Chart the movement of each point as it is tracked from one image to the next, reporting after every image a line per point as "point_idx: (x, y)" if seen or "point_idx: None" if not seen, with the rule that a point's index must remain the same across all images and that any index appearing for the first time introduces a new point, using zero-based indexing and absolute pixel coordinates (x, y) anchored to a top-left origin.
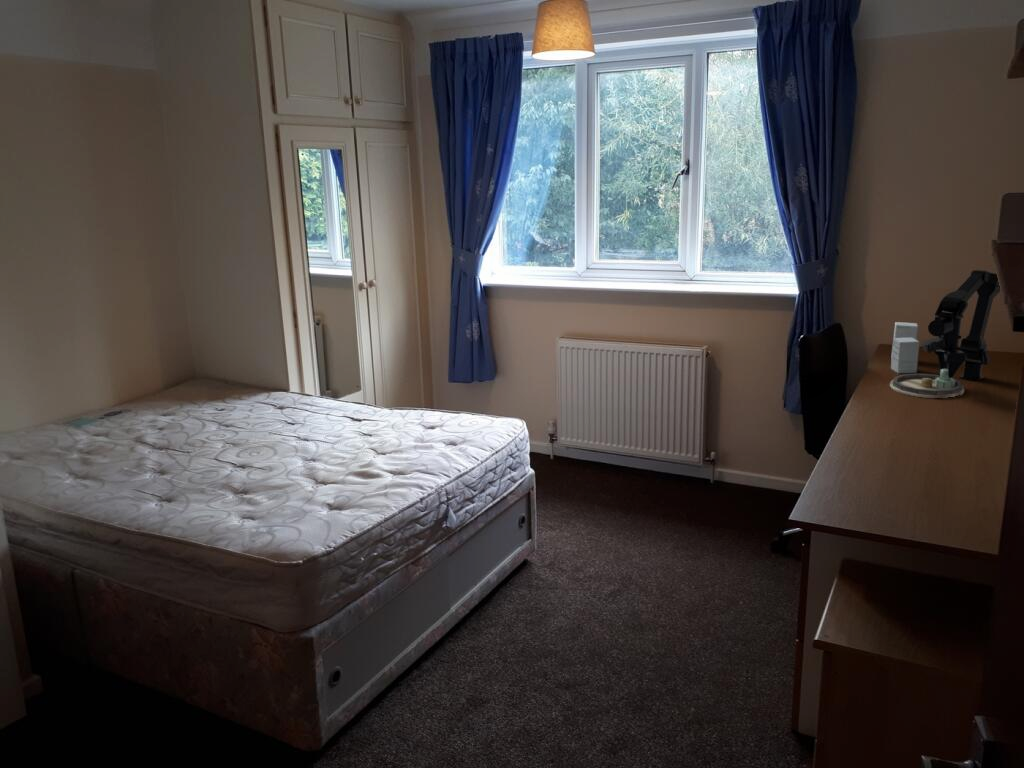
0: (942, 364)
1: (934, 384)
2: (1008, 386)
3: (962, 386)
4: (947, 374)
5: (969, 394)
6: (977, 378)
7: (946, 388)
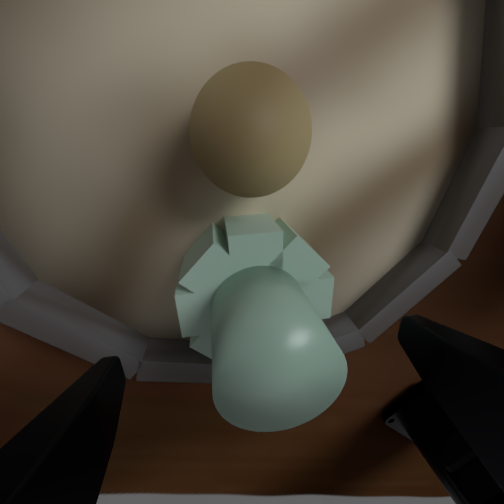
0: (465, 386)
1: (290, 216)
2: (299, 492)
3: None
4: (212, 361)
5: (136, 375)
6: (403, 427)
7: None
